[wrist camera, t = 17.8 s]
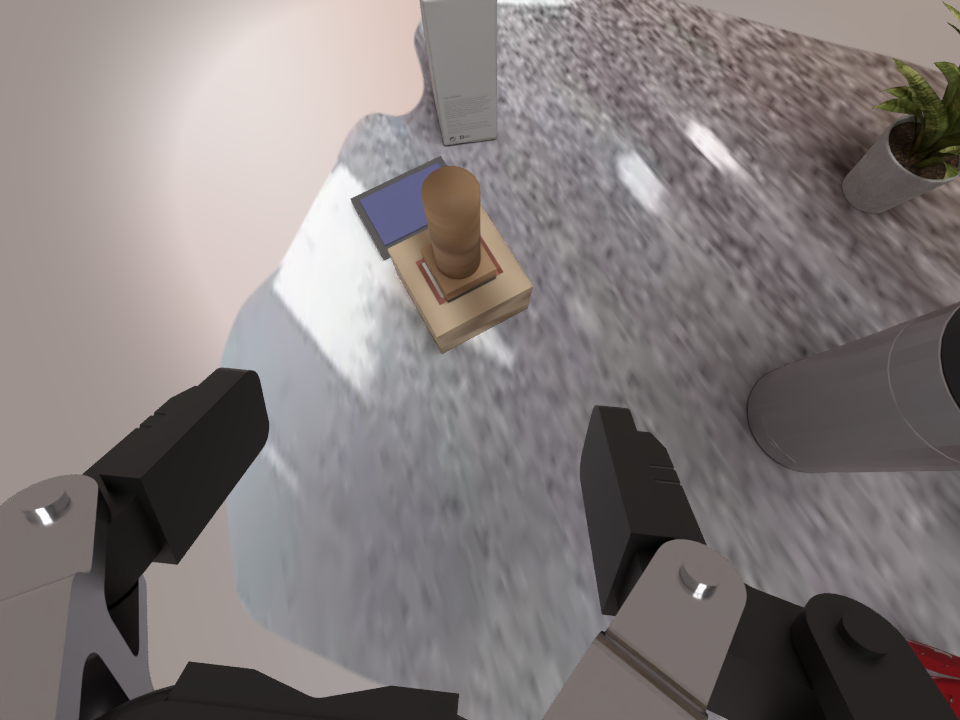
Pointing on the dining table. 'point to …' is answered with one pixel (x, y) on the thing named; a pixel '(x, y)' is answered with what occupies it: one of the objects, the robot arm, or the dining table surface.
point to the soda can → (941, 671)
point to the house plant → (911, 144)
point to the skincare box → (463, 66)
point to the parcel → (473, 308)
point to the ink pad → (396, 207)
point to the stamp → (455, 232)
